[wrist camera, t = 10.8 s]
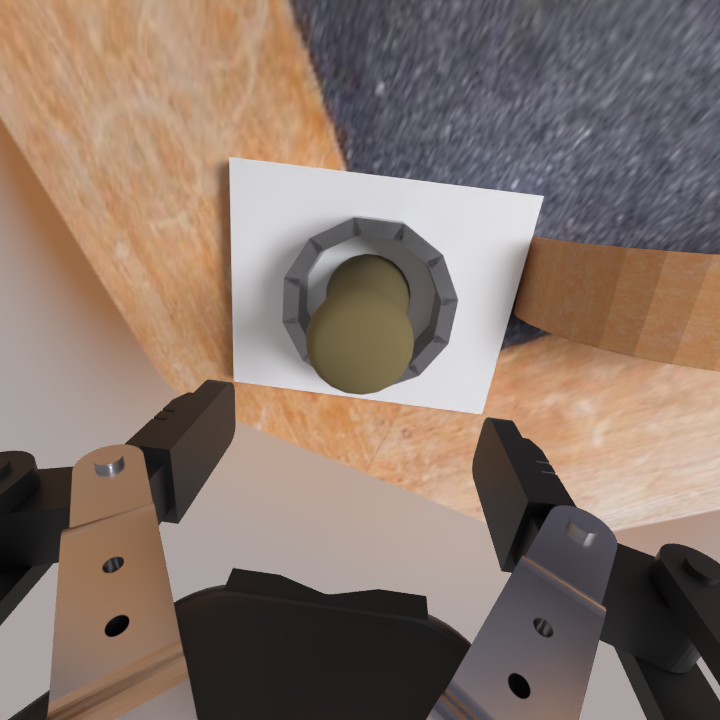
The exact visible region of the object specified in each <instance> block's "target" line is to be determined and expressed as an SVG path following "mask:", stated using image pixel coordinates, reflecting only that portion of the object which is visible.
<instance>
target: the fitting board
mask: <svg viewBox="0 0 720 720" xmlns="http://www.w3.org/2000/svg"><path fill="white" fill-rule="evenodd" d="M229 169H230V219H231V269H232V319H233V369H234V382H242V383H249V384H257V385H264V386H272V387H279V388H287V389H295V390H302V391H310V392H317V393H325V394H332V395H340V396H347V397H355V398H362V399H370V400H377V401H385V402H393V403H400V404H408V405H415V406H423V407H430V408H438V409H445V410H453V411H460V412H468V413H476V414H482V412H483V409H484V405H485V401H486V398H487V394H488V391H489V387H490V384H491V380H492V377H493V373H494V370H495V366H496V363H497V359H498V356H499V352H500V349H501V345H502V342H503V338H504V335H505V331H506V328H507V324H508V320H509V317H510V313H511V310H512V306H513V303H514V299H515V296H516V292H517V289H518V285H519V282H520V278H521V275H522V271H523V268H524V264H525V261H526V257H527V254H528V250H529V246H530V243H531V239H532V236H533V232H534V229H535V225H536V222H537V218H538V215H539V211H540V208H541V204H542V201H543V197H544V196H538V195H530V194H522V193H514V192H506V191H498V190H490V189H482V188H474V187H466V186H458V185H450V184H442V183H434V182H426V181H418V180H410V179H402V178H394V177H386V176H378V175H370V174H362V173H354V172H346V171H338V170H330V169H322V168H314V167H306V166H298V165H290V164H282V163H274V162H266V161H258V160H250V159H242V158H234V157H229ZM356 216H364V217H372V218H380V219H388V220H396V221H403V222H404V223H405V224H406V225H408V226H409V227H410V228H411V229H413V230H414V231H415V232H416V233H417V234H419V235H420V236H421V237H422V238H424V239H425V240H426V241H427V242H428V243H430V244H431V245H432V246H433V247H435V248H436V249H437V250H438V251H439V252H441V253H442V254H443V256H444V259H445V262H446V265H447V268H448V271H449V274H450V277H451V280H452V283H453V286H454V289H455V292H456V294H457V297H458V304H457V308H456V313H455V317H454V322H453V326H452V331H451V335H450V340H449V344H448V345H447V346H446V347H445V348H444V349H443V350H442V352H441V353H440V354H439V355H438V356H437V357H436V358H435V359H434V360H433V361H432V362H431V364H430V365H429V366H428V367H427V368H426V369H425V370H424V371H423V372H422V373H421V375H420V376H417V377H415V378H412V379H409V380H406V381H403V382H400V383H398V384H395V385H392V386H389V387H387V388H385V389H383V390H381V391H379V392H376V393H370V394H364V395H358V394H350V393H345V392H342V391H340V390H338V389H335V388H333V387H331V386H330V385H329V384H327V383H326V382H325V381H324V380H322V379H321V378H320V377H319V376H318V374H317V373H316V371H315V370H314V368H313V367H311V366H310V365H308V364H307V363H305V362H304V361H302V359H301V357H300V355H299V353H298V351H297V349H296V347H295V345H294V343H293V341H292V340H291V338H290V336H289V334H288V332H287V330H286V328H285V326H284V324H283V323H282V320H283V292H284V277H285V275H286V274H287V272H288V271H289V269H290V268H291V266H292V264H293V263H294V261H295V260H296V258H297V257H298V255H299V254H300V252H301V251H302V249H303V248H304V246H305V245H306V243H307V242H308V240H309V238H311V237H313V236H315V235H317V234H320V233H322V232H324V231H326V230H328V229H330V228H333V227H335V226H337V225H339V224H341V223H343V222H346V221H348V220H350V219H352V218H354V217H356ZM363 254H372V255H380V256H382V257H384V258H386V259H389V260H391V261H393V262H394V263H395V264H396V265H397V266H398V267H399V268H400V269H401V270H402V271H403V273H404V275H405V277H406V279H407V281H408V283H409V289H410V295H411V297H410V303H409V309H408V313H407V317H408V319H409V320H410V322H411V326H412V331H413V337H414V341H415V340H416V339H417V338H418V337H419V335H420V334H421V333H422V332H423V331H424V330H425V329H426V327H427V326H428V325H429V323H430V318H431V313H432V307H433V302H434V297H435V292H436V291H435V288H434V286H433V283H432V280H431V277H430V275H429V272H428V269H427V266H426V263H424V262H423V261H422V260H421V259H419V258H418V257H417V256H416V255H414V254H413V253H412V252H411V251H409V250H408V249H407V248H406V247H404V246H403V245H402V244H401V243H399V242H398V241H394V240H386V239H379V238H371V237H363V236H356V237H353V238H351V239H349V240H347V241H345V242H342V243H340V244H338V245H336V246H333V247H331V248H329V249H327V250H325V252H324V253H323V255H322V256H321V258H320V259H319V261H318V262H317V264H316V265H315V267H314V268H313V269H312V271H311V272H310V274H309V276H308V293H307V310H308V312H309V314H310V316H311V318H312V315H313V314H314V312H315V311H316V310H317V309H318V307H319V306H320V305H321V304H322V303H323V302H324V301H325V299H326V292H327V285H328V282H329V280H330V277H331V275H332V273H333V272H334V271H335V270H336V269H337V267H338V266H339V265H340V264H341V263H343V262H344V261H346V260H348V259H349V258H351V257H353V256H358V255H363Z"/></svg>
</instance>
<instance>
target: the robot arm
mask: <svg viewBox="0 0 720 720" xmlns="http://www.w3.org/2000/svg"><path fill="white" fill-rule="evenodd" d="M234 432H235V390H234V385H233V383H231V382H224V381H216V380H206V381H205V382H204V383H203V384H202V385H201V386H200V387H199V388H198V389H197V390H196V391H195V392H194V393H189V392H188V393H186V394H184V395H182V396H180V397H178V398H175V399H173V400H172V401H171V402H170V403H169V404H168V405H167V406H166V407H164V408H163V411H160V412H159V413H158V414H157V415H156V416H155V417H154V419H151V420H150V421H149V422H148V423H147V424H146V425H145V426H144V427H143V428H142V429H140V430H139V432H137V433H136V434H135V435H134V436H133V437H132V438H131V439H130V440H129V441H127V442H126V443H125V444H122V445H121V444H120V445H111V446H107V447H102V448H100V449H97V450H94V451H92V452H90V453H88V454H86V455H85V456H83V457H82V458H81V459H80V460H78V462H77V463H76V464H75V466H74V467H62V468H50V469H37V465H36V462H35V459H34V457H33V455H31V454H30V453H27V452H23V451H6V452H0V625H1V624H2V623H3V622H4V621H5V620H6V618H7V617H8V616H9V615H10V614H11V612H12V611H13V610H14V609H15V608H16V607H17V605H18V604H19V603H20V602H21V601H22V600H23V598H24V597H25V596H26V595H27V594H28V592H29V591H30V590H31V589H32V588H33V587H34V585H35V584H36V583H37V582H38V581H39V580H40V578H41V577H42V576H43V575H44V574H45V573H46V571H47V570H48V569H49V568H50V567H51V565H52V564H53V563H58V562H59V569H58V582H57V597H56V611H55V623H54V637H53V652H52V665H51V680H50V690H49V691H48V692H46V693H45V694H43V695H42V696H41V697H39V698H38V699H36V700H35V701H33V702H32V703H31V704H29V705H28V706H26V707H25V708H24V709H22V710H21V711H19V712H18V713H17V714H15V715H14V716H12V717H11V718H10V719H8V720H579V716H580V713H581V709H582V705H583V701H584V697H585V693H586V689H587V685H588V681H589V677H590V674H591V670H592V666H593V662H594V658H595V654H596V650H597V646H598V642H599V640H601V641H603V642H605V643H608V644H610V645H612V646H614V647H615V650H616V652H617V654H618V656H619V659H620V661H621V663H622V665H623V668H624V670H625V672H626V674H627V676H628V678H629V681H630V683H631V685H632V687H633V690H634V692H635V694H636V696H637V698H638V700H639V702H640V705H641V707H642V709H643V712H644V714H645V716H646V718H647V720H720V701H719V699H718V698H717V696H716V694H715V693H714V691H713V689H712V688H711V686H710V685H709V683H708V681H707V680H706V678H705V676H704V675H703V673H702V671H701V670H700V668H699V667H698V665H697V663H696V662H697V660H698V659H699V658H700V657H701V656H702V658H703V660H704V661H705V663H706V664H707V666H708V668H709V669H710V671H711V673H712V674H713V675H714V677H715V679H716V680H717V682H718V684H719V685H720V564H719V563H718V562H716V561H714V560H713V559H712V558H710V557H708V556H707V555H705V554H703V553H701V552H699V551H697V550H695V549H693V548H690V547H687V546H684V545H680V544H666V545H664V546H662V547H661V549H660V550H659V552H658V554H657V555H656V557H654V556H651V555H648V554H646V553H643V552H640V551H637V550H635V549H632V548H629V547H627V546H624V545H622V544H619V543H617V540H616V538H615V535H614V534H613V532H612V531H611V530H610V529H609V527H608V526H607V525H606V524H605V523H603V522H602V521H601V520H600V519H598V518H597V517H595V516H594V515H592V514H590V513H589V512H587V511H584V510H582V509H579V508H577V507H576V505H575V504H574V502H573V500H572V499H571V497H570V495H569V494H568V492H567V491H566V489H565V487H564V486H563V484H562V482H561V481H560V479H559V477H558V476H557V475H555V471H554V469H553V468H552V466H551V465H549V461H548V460H547V458H546V456H545V455H544V453H543V451H542V450H541V449H540V448H539V447H538V446H536V445H535V444H534V443H533V442H532V441H531V440H529V439H526V438H522V436H521V434H520V433H519V431H518V429H517V427H516V425H515V424H514V422H513V421H511V420H503V419H496V418H489V417H488V418H486V419H485V421H484V423H483V427H482V430H481V434H480V437H479V441H478V444H477V448H476V451H475V455H474V458H473V466H472V472H473V479H474V482H475V485H476V489H477V492H478V495H479V498H480V502H481V505H482V508H483V512H484V515H485V518H486V522H487V525H488V528H489V531H490V535H491V538H492V541H493V545H494V548H495V551H496V554H497V558H498V561H499V564H500V568H501V571H504V572H511V573H512V574H511V576H510V578H509V580H508V582H507V583H506V585H505V587H504V589H503V590H502V592H501V594H500V596H499V597H498V599H497V601H496V603H495V604H494V606H493V608H492V610H491V611H490V613H489V615H488V617H487V619H486V620H485V622H484V624H483V626H482V627H481V629H480V631H479V633H478V634H477V636H476V638H475V640H474V642H473V643H472V644H471V643H470V642H469V641H468V640H467V639H466V638H464V637H463V636H462V635H461V634H460V633H459V632H458V631H456V630H454V629H453V628H452V627H451V626H449V625H447V624H446V623H444V622H443V621H441V620H439V619H437V618H436V617H433V616H431V615H429V614H428V610H427V599H426V596H421V595H414V594H408V593H401V592H394V591H387V590H380V589H376V590H367V591H359V592H349V593H341V594H324V593H321V592H319V591H316V590H314V589H312V588H309V587H307V586H304V585H302V584H300V583H298V582H295V581H293V580H291V579H288V578H286V577H283V576H281V575H276V574H270V573H263V572H256V571H249V570H242V569H235V568H233V569H232V572H231V574H230V576H229V579H228V581H227V583H226V585H220V586H215V587H211V588H206V589H203V590H201V591H198V592H195V593H192V594H190V595H188V596H186V597H184V598H181V599H179V600H178V601H176V602H173V597H172V592H171V587H170V583H169V577H168V572H167V567H166V562H165V556H164V551H163V546H162V541H161V536H160V531H159V525H160V523H161V522H162V521H163V522H170V523H177V524H178V523H179V522H180V520H181V519H182V517H183V516H184V514H185V513H186V511H187V510H188V508H189V507H190V505H191V504H192V502H193V500H194V499H195V497H196V496H197V494H198V493H199V491H200V490H201V488H202V487H203V485H204V483H205V482H206V481H207V479H208V478H209V476H210V474H211V473H212V471H213V470H214V468H215V467H216V465H217V464H218V462H219V461H220V459H221V458H222V456H223V455H224V453H225V451H226V450H227V448H228V447H229V445H230V444H231V442H232V439H233V436H234Z"/></svg>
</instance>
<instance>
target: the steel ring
mask: <svg viewBox="0 0 720 720" xmlns="http://www.w3.org/2000/svg"><path fill="white" fill-rule="evenodd" d="M356 236H363V237H371V238H379V239H386V240H394V241H398V242H399V243H401V244H402V245H403V246H404V247H406V248H407V249H408V250H409V251H411V252H412V253H413V254H414V255H416V256H417V257H418V258H419V259H421V260H422V261H423V262H424V263H426V266H427V269H428V272H429V275H430V277H431V280H432V283H433V286H434V288H435V291H436V292H435V297H434V302H433V307H432V313H431V318H430V323H429V325H428V326H427V327H426V329H425V330H424V331H423V332H422V333H421V334H420V335H419V337H418V338H417V339H416V340H415V341H414V347H413V353H412V358H411V360H410V362H409V364H408V366H407V368H406V369H405V371H404V373H403V375H402V376H401V377H400V378H399V379H398V380H397V381H396V382H394V383H393V384H392V385H395V384H398V383H400V382H403V381H406V380H409V379H412V378H415V377H417V376H420V375H421V373H422V372H423V371H424V370H425V369H426V368H427V367H428V366H429V365H430V364H431V362H432V361H433V360H434V359H435V358H436V357H437V356H438V355H439V354H440V353H441V352H442V350H443V349H444V348H445V347H446V346H447V345H448V344H449V340H450V335H451V331H452V326H453V322H454V317H455V313H456V308H457V304H458V297H457V294H456V292H455V289H454V286H453V283H452V280H451V277H450V274H449V271H448V268H447V265H446V262H445V259H444V256H443V254H442V253H441V252H439V251H438V250H437V249H436V248H435V247H433V246H432V245H431V244H430V243H428V242H427V241H426V240H425V239H424V238H422V237H421V236H420V235H419V234H417V233H416V232H415V231H414V230H413V229H411V228H410V227H409V226H408V225H406V224H405V223H404V222H403V221H396V220H388V219H380V218H372V217H364V216H356V217H354V218H352V219H350V220H348V221H346V222H343V223H341V224H339V225H337V226H335V227H333V228H330V229H328V230H326V231H324V232H322V233H320V234H317V235H315V236H313V237H311V238H309V240H308V242H307V243H306V245H305V246H304V248H303V249H302V251H301V252H300V254H299V255H298V257H297V258H296V260H295V261H294V263H293V264H292V266H291V268H290V269H289V271H288V272H287V274H286V275H285V277H284V292H283V320H282V323H283V324H284V326H285V328H286V330H287V332H288V334H289V336H290V338H291V340H292V341H293V343H294V345H295V347H296V349H297V351H298V353H299V355H300V357H301V359H302V361H304V362H305V363H307V364H308V365H310V366H311V367H312V365H311V363H310V360H309V356H308V353H307V350H306V335H307V328H308V325H309V323H310V320H311V316H310V314H309V312H308V310H307V293H308V276H309V274H310V272H311V271H312V269H313V268H314V267H315V265H316V264H317V262H318V261H319V259H320V258H321V256H322V255H323V253H324V252H325V250H327V249H329V248H331V247H333V246H336V245H338V244H340V243H342V242H345V241H347V240H349V239H351V238H353V237H356ZM392 385H391V386H392Z"/></svg>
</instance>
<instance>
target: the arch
mask: <svg viewBox="0 0 720 720" xmlns="http://www.w3.org/2000/svg"><path fill="white" fill-rule="evenodd" d="M514 315H515V316H516V317H518V318H520V319H521V320H523V321H525V322H526V323H528V324H530V325H532V326H535V327H537V328H539V329H542V330H544V331H546V332H549V333H552V334H555V335H557V336H560V337H563V338H566V339H569V340H572V341H576V342H579V343H582V344H586V345H589V346H593V347H596V348H600V349H604V350H608V351H612V352H616V353H621V354H625V355H629V356H633V357H638V358H643V359H648V360H653V361H658V362H663V363H668V364H674V365H680V366H687V367H693V368H700V369H706V370H713V371H720V255H717V254H702V253H688V252H674V251H661V250H649V249H637V248H625V247H614V246H604V245H594V244H584V243H575V242H567V241H560V240H553V239H547V238H541V237H533V236H532V239H531V243H530V246H529V250H528V254H527V257H526V261H525V264H524V268H523V271H522V275H521V280H520V285H519V290H518V296H517V301H516V306H515V311H514Z"/></svg>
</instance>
